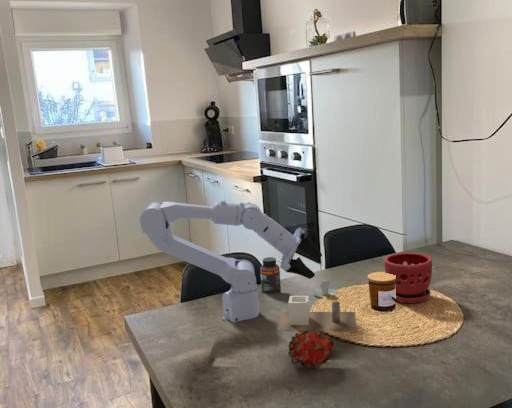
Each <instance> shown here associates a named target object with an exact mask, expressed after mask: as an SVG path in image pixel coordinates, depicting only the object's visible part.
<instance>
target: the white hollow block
mask: <svg viewBox="0 0 512 408" xmlns="http://www.w3.org/2000/svg"><path fill="white" fill-rule="evenodd" d="M288 298H289V299H288V312H289V325H309V312H310V300H309V299H310V297H309V295H289V297H288Z"/></svg>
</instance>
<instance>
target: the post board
mask: <svg viewBox="0 0 512 408" xmlns="http://www.w3.org/2000/svg"><path fill="white" fill-rule="evenodd" d="M340 307H341V304H340V302H339V301H332V302H331V311H309V325H289V311H280V312H279V317H278V322H277V327H276V331H277V332H304V331H309V332H314V331H319V332H358V327H357V321H356V313H355V311H341V308H340Z"/></svg>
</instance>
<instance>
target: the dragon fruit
mask: <svg viewBox="0 0 512 408" xmlns="http://www.w3.org/2000/svg"><path fill="white" fill-rule="evenodd" d="M302 332H303V333H299V332H295V334H294V335H295V336H292V337H291V340H290V341H289V343H288V351H287V352H288V356H289V358H291V363H292V364H294V365H299V364H300V366H301V367H305V366H309V367H310V368H313V369H317V366H318V365H321V364H322V365H324V364H325V363H326V362H327V361H328V358H329V357H330V355H331V353H333V348H334V340H332V339H331V338H330V336H328V335H321V333H320V331H312V332H311V331H302ZM294 359H295V361H294Z"/></svg>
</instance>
